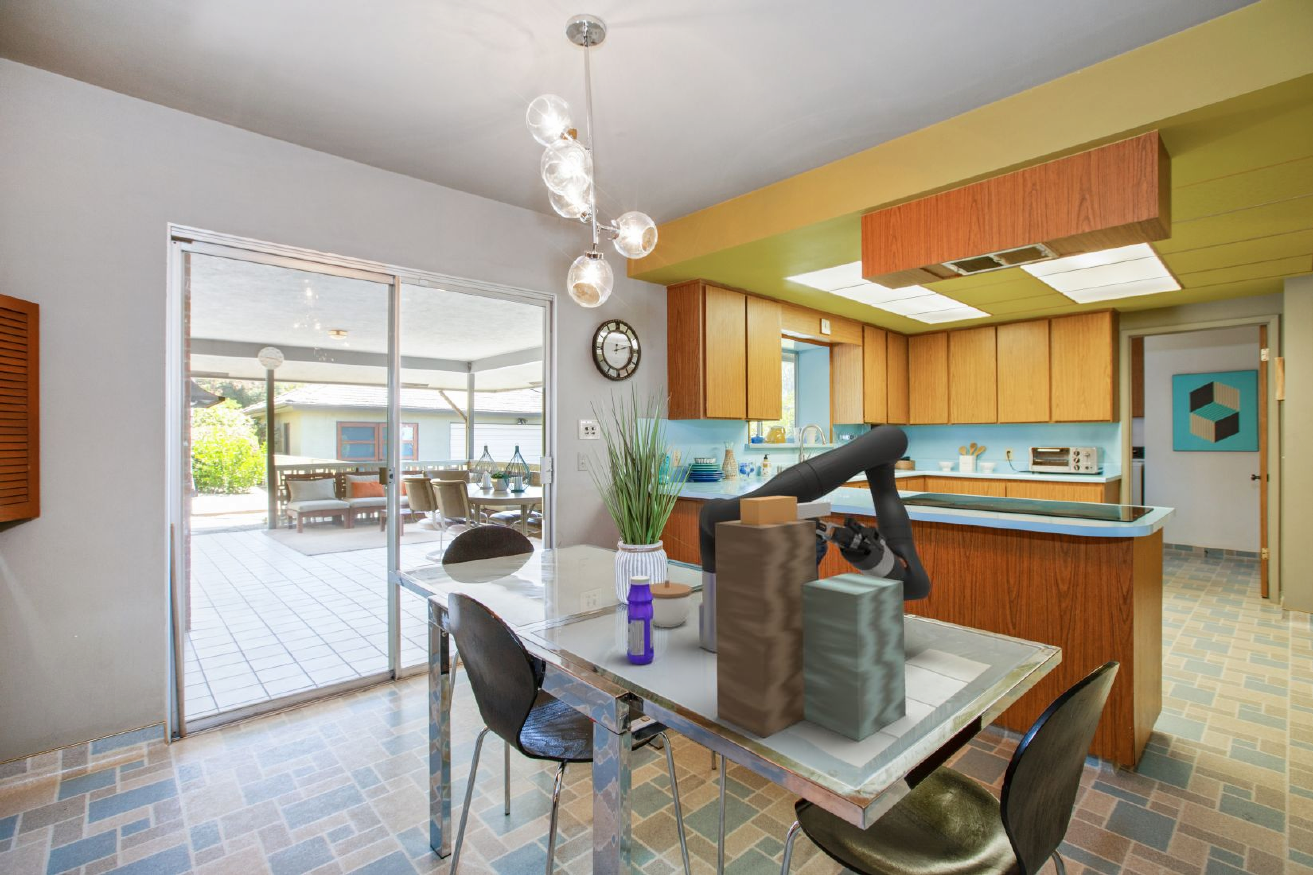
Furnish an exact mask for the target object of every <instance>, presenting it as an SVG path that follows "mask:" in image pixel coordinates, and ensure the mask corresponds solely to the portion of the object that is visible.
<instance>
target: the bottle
mask: <svg viewBox="0 0 1313 875" xmlns="http://www.w3.org/2000/svg"><path fill="white" fill-rule="evenodd" d="M629 582H630V588H629V592H628V595H627V596H626V602H628V603H627V608H626V616H627V650H626V655H627V659H628V661H629V663H632V664H635V665H639V664H641V665H642V664H649V663H651V662H652V661H653V659H654V655H655V650H654V646H655V645H654V623H653V605H652V600H653V596H652V594H651V591H650V576H647V575H634V576H631V577H630V581H629Z"/></svg>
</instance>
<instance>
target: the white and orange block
mask: <svg viewBox="0 0 1313 875" xmlns="http://www.w3.org/2000/svg"><path fill="white" fill-rule="evenodd" d="M740 511H741V523H744V524H752V525H765V524H773V523H780V522H788V521H796V520H797V519H798V520H805V518H812V517H817V518H819V517H826V516H831V511H832V509H831V501H821V500H820V501H813V502H808V503H798V504H797V497H789V496H771V497H759V498H748V499H740Z"/></svg>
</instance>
